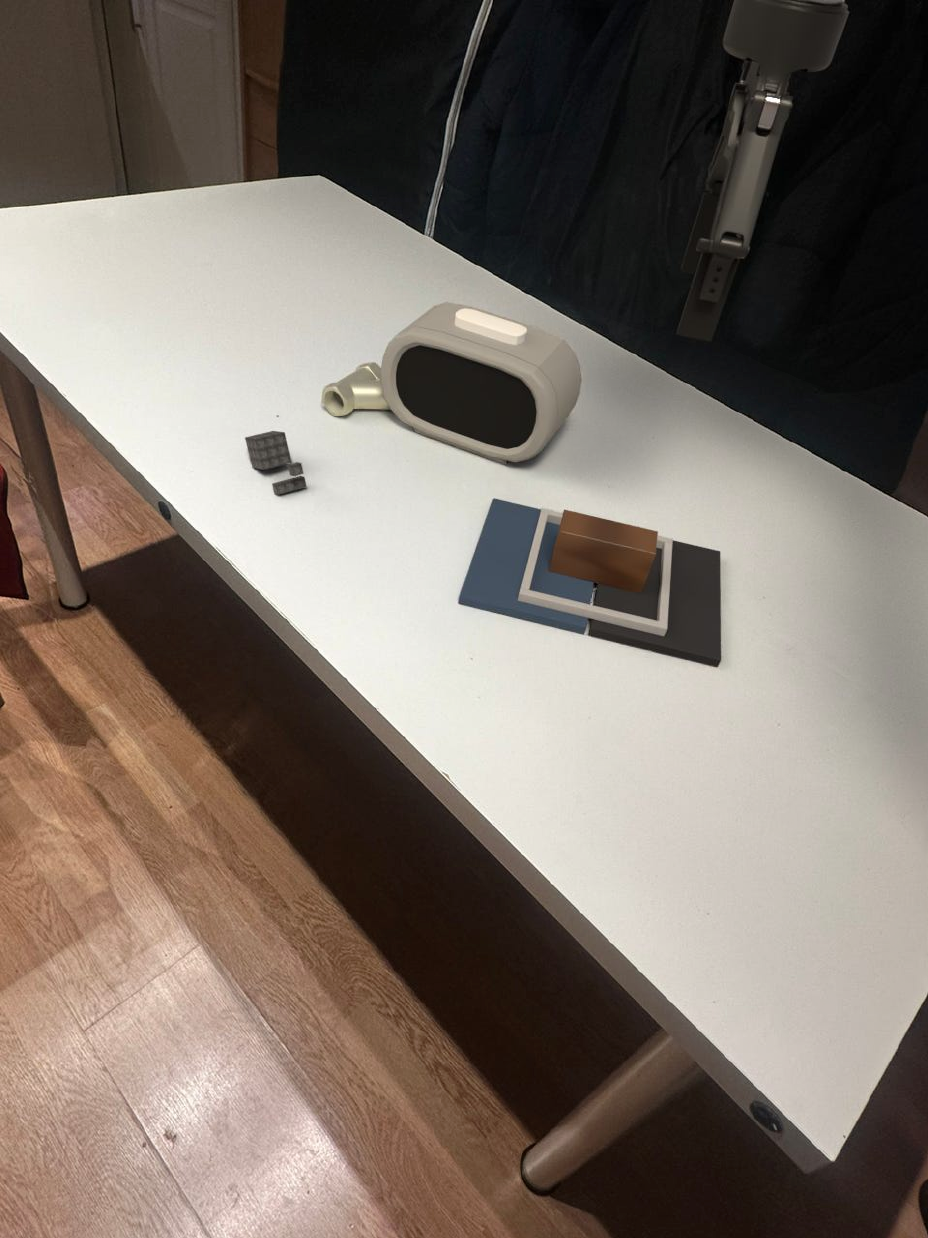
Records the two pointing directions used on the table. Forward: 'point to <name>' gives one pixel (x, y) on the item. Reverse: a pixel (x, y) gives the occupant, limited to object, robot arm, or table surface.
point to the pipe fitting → (356, 391)
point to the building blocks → (275, 459)
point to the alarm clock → (481, 381)
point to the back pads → (654, 620)
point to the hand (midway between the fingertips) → (694, 303)
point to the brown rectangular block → (603, 551)
